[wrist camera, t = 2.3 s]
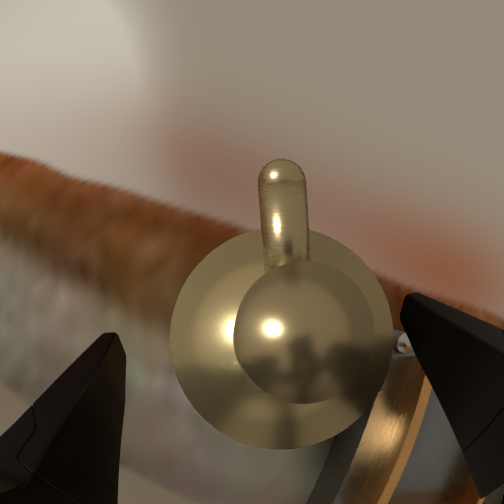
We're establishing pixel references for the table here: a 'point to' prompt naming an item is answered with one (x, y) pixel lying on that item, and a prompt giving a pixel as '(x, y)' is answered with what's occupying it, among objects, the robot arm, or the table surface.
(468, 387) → the robot arm
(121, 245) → the table surface
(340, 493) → the grey square tray
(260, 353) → the spout can
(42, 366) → the table surface
